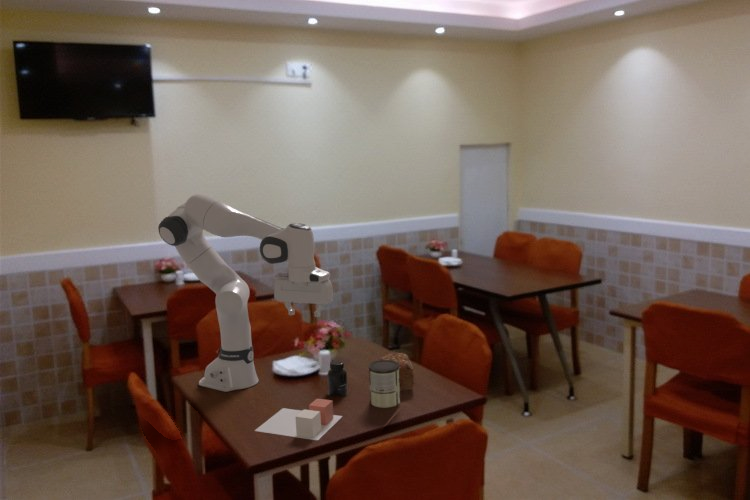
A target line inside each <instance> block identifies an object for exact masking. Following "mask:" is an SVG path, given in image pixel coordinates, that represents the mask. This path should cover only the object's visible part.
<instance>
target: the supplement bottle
mask: <svg viewBox="0 0 750 500" xmlns="http://www.w3.org/2000/svg"><path fill="white" fill-rule="evenodd" d="M327 395H328V396H332V397H344V398H345V397H346V396H347V395H348V372H347V370H346V369H345V364H344V361H342V360H332V361H331V362H329V369H328V371H327Z"/></svg>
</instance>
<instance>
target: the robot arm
mask: <svg viewBox="0 0 750 500" xmlns="http://www.w3.org/2000/svg"><path fill="white" fill-rule="evenodd" d="M157 228H158V233H159V235H160V238H161V239H162V240H163V241H164V242H165V243H166V244H167V245H169V246H172V247H175V249H176V252H177V253H178V254H179V256H180V258H181V259H182V260H183V262H184V263H185V264H186V265H187V267H188V268H189V269H190V270H191V271H192V273H193V274H194V275H195V276H196V278H197V279H198V280H199V281H200V282H201V283H202V284H204V285H205V286H206V287H208V288H209V289H210V290H211V291H212V292H214V294H215V295H216V296H215V303H214V304H215V309H216V313H217V314H216V315H217V321H218V324H219V331H220V342H221V344H220V345H221V347H219V348H218V349H217V350H215V354H218V356H217V357H216V358H215V359H214V360H212V361H211V362H209V364H208V365H206V367H205V370H204V376H203V377H202V378H201V379H200V380H199V381H198V385H199V386H201V387H204V388H208V389H212V390H216V391H221V392H225V393H226V392H227V393H228V392H231V391H237V390H242V389H247V388H251V387H253V386H255V385H257V384H258V382H259V381H260V380H259V378H258V377H259V376H258V374H257V372H256V368H255V367H256V366H255V364H254V363H255V362H254V354H255V353H254V345H253V344H252V331H251V329H252V328H251V323H250V318H249V311H248V301H249V298H250V292H251V291H250V287H249V284H248V283H247V282H246V281H245V280H243V278H242V277H241V276H240V275H239V274H238V273H237V272H236V271H235V270H234V269H233V268H232V267H231V266H229V265H228V264H227V262H226V261H224V258H222V257H221V256H220V254H219V253H218V252H217V250H215V248H214V247H213V245H211V243H210V242H209V241H208V240H207V239H206V238H205V236H204V234H203V230H204V231H206V232H208V233H210V234H212V235H214V236H217V237H221V238H235V237H253V238H257V239H259V240H261V242H260V245H259V253H260V256H261V258H262V259H263V260H264V262H266V263H268V264H271V265H273V264H274V265H278V264H281V263H286V264H287V270H288V271H287V273H282V272H278V273H277V274H275V276H274V277H273V281H274V282H273V283H274V289H273V290H274V291H273V299H274V300H275V301H276V302H281V303H282V302H284V306H285V308H286V309H287V310H288V311H287V312H288V315H289V316H294V315H296V314H295V313H296V312H295V310H296V309H295V308H293V306H292V303H296V304H297V303H299V304H300V303H301V304H314V305H315V304H316V307H317V309H316V310H315V311H314V312H313V314H314V318H320V317H321V315H322V314H321V312H322V309H323V307H324V305H330V304H331V303H332V302H333V301H334V297H335V295H334V287H333V284H332V281H331V280H330V278H331V273H330V272H329V271H327V270H324V269H321V268H320V267H317V265H316V261H315V251H316V250H315V239H314V238H315V237H314V233H313V230H312V228H311V227H310V226H309V225H307V224H304V223H295V222H293V223H290V224H288V225H287V226H286V227H280V226H278V225H275V224H273V223H270V222H268V221H266V220H263V219H260V218H258V217H255V216H253V215H251V214H248V213H246V212H243V211H241V210H239V209H237V208H235V207H233V206H230V205H228V204H226V203H224V202H222V201H220V200H218V199H215V198H213V197H210V196H207V195H203V194H194V195H191V196H190V197H189V198H188V199H187V200H186V202H184V203H183V204H180V206H178V207H176V208H175V210H174V211H172V212H171V213H170V214H169V215H168V216H165V217H164V218H163V219H162V220H161V221H160V223H159V224H158V227H157Z"/></svg>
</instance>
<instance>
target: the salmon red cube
mask: <svg viewBox="0 0 750 500" xmlns="http://www.w3.org/2000/svg"><path fill="white" fill-rule="evenodd" d="M308 410H313V411H320V415H321V425H327V424H328V423H329V422H330V421H331V420H332V419H333V415H334V403H333V400H332V399H331V400H330V399H323V398H316V399H315V400H314V401H312V402H311V403H310V404H309V405H308Z"/></svg>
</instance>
